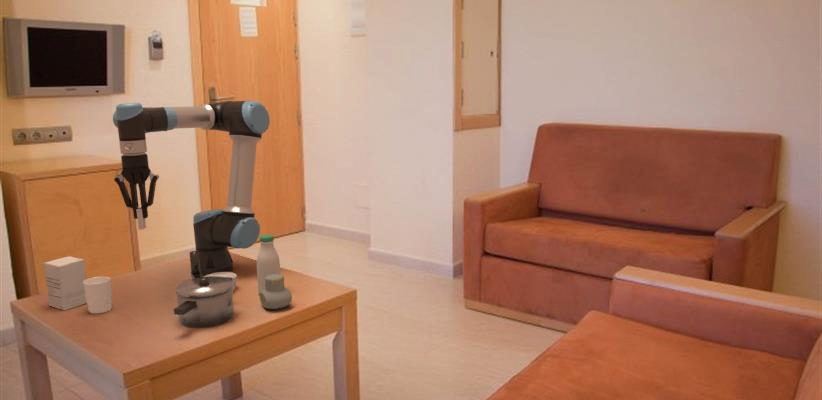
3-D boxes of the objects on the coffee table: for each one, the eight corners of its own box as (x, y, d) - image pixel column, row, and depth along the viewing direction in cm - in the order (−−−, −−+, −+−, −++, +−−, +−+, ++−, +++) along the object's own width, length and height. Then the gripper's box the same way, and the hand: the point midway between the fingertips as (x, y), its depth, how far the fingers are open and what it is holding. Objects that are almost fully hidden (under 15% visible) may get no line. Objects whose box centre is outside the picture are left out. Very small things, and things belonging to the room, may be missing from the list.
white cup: (103, 315, 205) (99, 284, 203) (81, 313, 207) (77, 283, 205) (118, 306, 213) (115, 276, 211) (97, 305, 214) (94, 275, 212)
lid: (238, 291, 196) (236, 264, 194) (180, 301, 188) (178, 273, 186) (220, 271, 216) (219, 247, 215) (168, 279, 209) (165, 254, 207)
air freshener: (294, 309, 207) (292, 278, 205) (268, 314, 203) (266, 283, 201) (283, 299, 217) (281, 270, 215) (258, 303, 213) (256, 274, 211)
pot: (206, 338, 185) (204, 308, 183) (155, 335, 188) (152, 305, 187) (252, 302, 213) (250, 276, 212) (207, 300, 217) (205, 274, 215)
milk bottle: (283, 294, 221) (280, 237, 217) (260, 297, 218) (256, 239, 215) (279, 287, 228) (275, 232, 224) (256, 290, 225) (253, 234, 222)
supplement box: (74, 298, 222) (69, 255, 219) (90, 302, 217) (85, 258, 214) (48, 306, 214) (42, 262, 211) (64, 311, 210) (58, 266, 207)
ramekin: (236, 284, 233) (235, 270, 232) (239, 293, 223) (238, 278, 222) (203, 288, 230) (202, 273, 229) (205, 298, 219) (203, 283, 218)
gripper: (107, 156, 197) (116, 232, 201) (153, 154, 198) (161, 230, 203) (115, 153, 204) (124, 226, 208) (159, 151, 205) (166, 224, 210)
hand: (142, 228), depth 206 cm, fingers closed
